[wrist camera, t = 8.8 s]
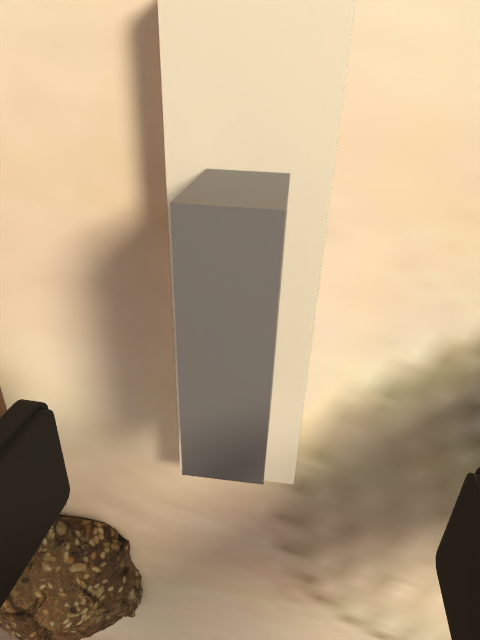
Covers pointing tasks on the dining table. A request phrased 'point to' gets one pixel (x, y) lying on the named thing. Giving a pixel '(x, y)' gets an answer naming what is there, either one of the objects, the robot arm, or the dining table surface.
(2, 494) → the robot arm
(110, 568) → the bread roll
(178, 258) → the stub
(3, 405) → the light wooden flat board
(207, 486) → the dining table surface
